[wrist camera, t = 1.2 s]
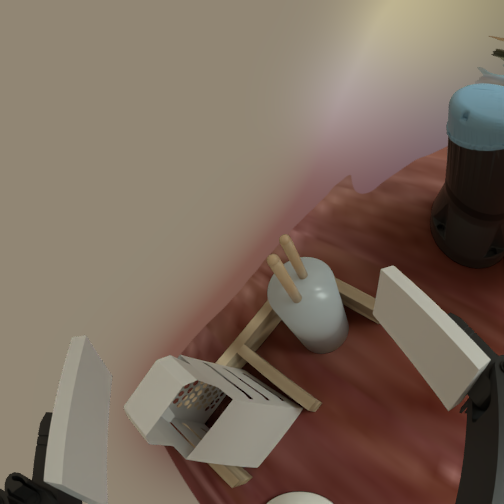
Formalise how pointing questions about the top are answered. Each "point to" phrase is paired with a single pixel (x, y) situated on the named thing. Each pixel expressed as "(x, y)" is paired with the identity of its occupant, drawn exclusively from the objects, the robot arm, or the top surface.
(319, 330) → the utensil crock
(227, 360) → the rack
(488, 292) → the top surface
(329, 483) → the top surface
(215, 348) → the top surface
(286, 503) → the plate
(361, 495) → the top surface
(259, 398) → the grater
